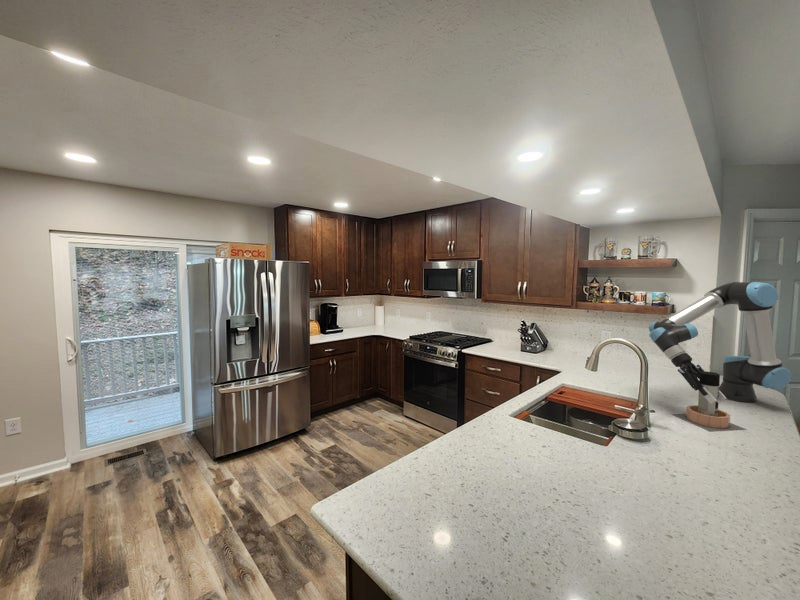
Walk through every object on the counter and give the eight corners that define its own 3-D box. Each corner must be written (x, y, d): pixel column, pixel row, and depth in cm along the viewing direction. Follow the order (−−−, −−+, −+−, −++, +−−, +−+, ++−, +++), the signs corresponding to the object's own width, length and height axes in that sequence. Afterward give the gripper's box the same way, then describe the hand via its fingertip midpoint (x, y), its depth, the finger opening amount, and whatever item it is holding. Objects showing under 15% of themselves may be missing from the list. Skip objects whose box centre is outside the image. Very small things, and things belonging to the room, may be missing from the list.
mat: (704, 413, 159) (704, 412, 159) (747, 430, 141) (747, 429, 141) (670, 415, 157) (670, 414, 157) (709, 433, 140) (709, 431, 140)
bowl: (705, 414, 157) (705, 404, 157) (738, 427, 143) (738, 416, 143) (678, 415, 156) (679, 405, 155) (709, 429, 142) (709, 418, 141)
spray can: (718, 420, 145) (721, 376, 143) (698, 416, 149) (700, 373, 147) (716, 415, 150) (719, 372, 149) (696, 412, 154) (699, 370, 153)
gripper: (684, 358, 166) (723, 401, 152) (658, 362, 159) (697, 407, 145) (697, 350, 160) (739, 394, 146) (671, 353, 153) (713, 400, 139)
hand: (718, 400), depth 145 cm, fingers closed on spray can, 7 cm apart
